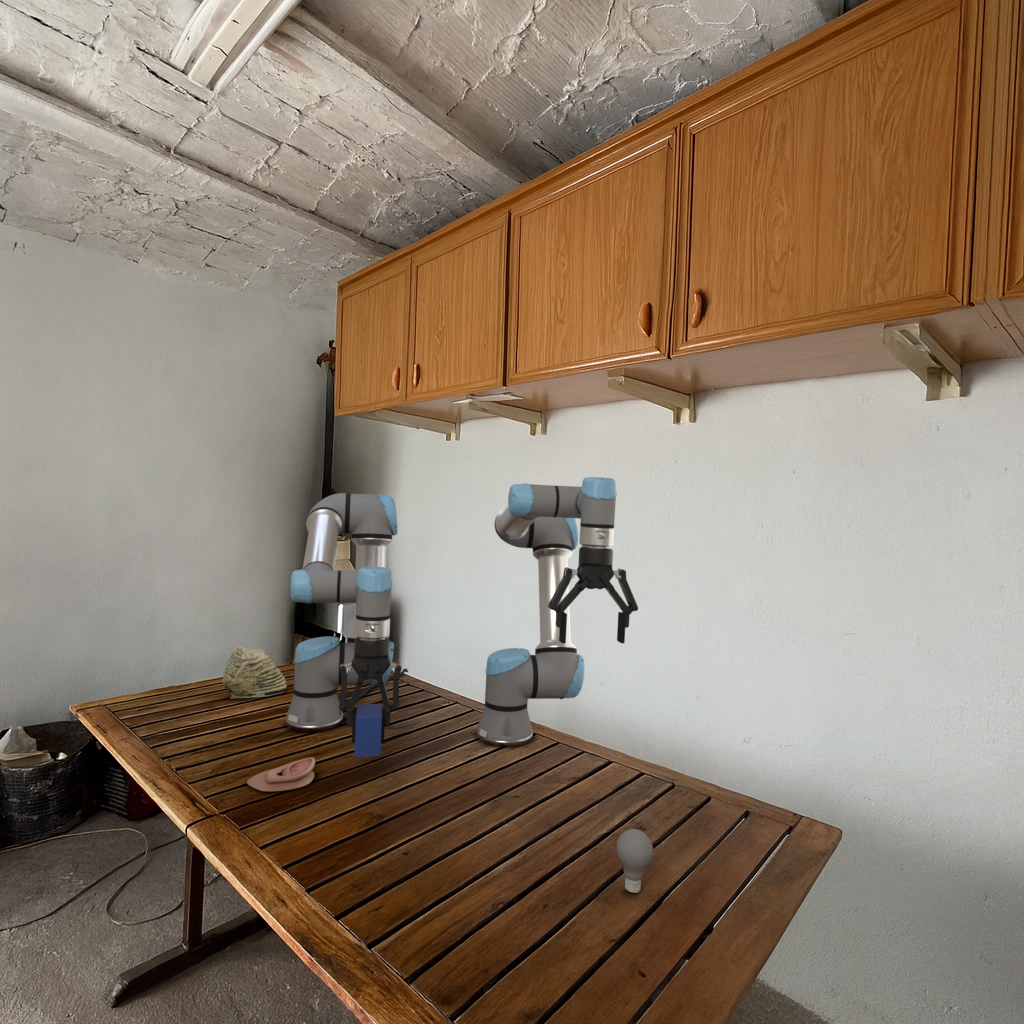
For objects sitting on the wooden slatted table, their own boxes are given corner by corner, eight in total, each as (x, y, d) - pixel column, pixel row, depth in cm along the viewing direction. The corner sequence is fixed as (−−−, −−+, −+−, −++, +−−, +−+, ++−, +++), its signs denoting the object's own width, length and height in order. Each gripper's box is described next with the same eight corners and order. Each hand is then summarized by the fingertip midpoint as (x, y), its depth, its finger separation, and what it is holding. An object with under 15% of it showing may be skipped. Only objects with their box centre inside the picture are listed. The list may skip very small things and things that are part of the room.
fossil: (218, 695, 195) (220, 647, 195) (278, 685, 208) (279, 640, 207) (228, 703, 189) (230, 653, 188) (289, 692, 201) (290, 645, 201)
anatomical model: (238, 769, 136) (269, 749, 147) (238, 787, 136) (269, 766, 147) (295, 777, 133) (322, 756, 144) (294, 796, 133) (321, 773, 144)
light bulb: (610, 879, 108) (613, 822, 108) (644, 879, 109) (647, 822, 109) (619, 902, 102) (622, 840, 102) (655, 901, 103) (658, 840, 103)
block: (355, 741, 145) (357, 704, 145) (380, 740, 146) (381, 703, 146) (354, 756, 137) (356, 717, 136) (380, 755, 138) (382, 716, 137)
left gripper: (327, 641, 135) (323, 748, 136) (415, 640, 139) (410, 745, 140) (330, 633, 142) (326, 735, 143) (413, 633, 146) (409, 732, 147)
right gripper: (545, 546, 134) (541, 646, 135) (655, 549, 139) (651, 645, 140) (537, 543, 142) (533, 638, 142) (642, 547, 147) (637, 638, 147)
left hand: (368, 740), depth 141 cm, fingers closed on block, 5 cm apart
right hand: (591, 642), depth 141 cm, fingers open, 13 cm apart
